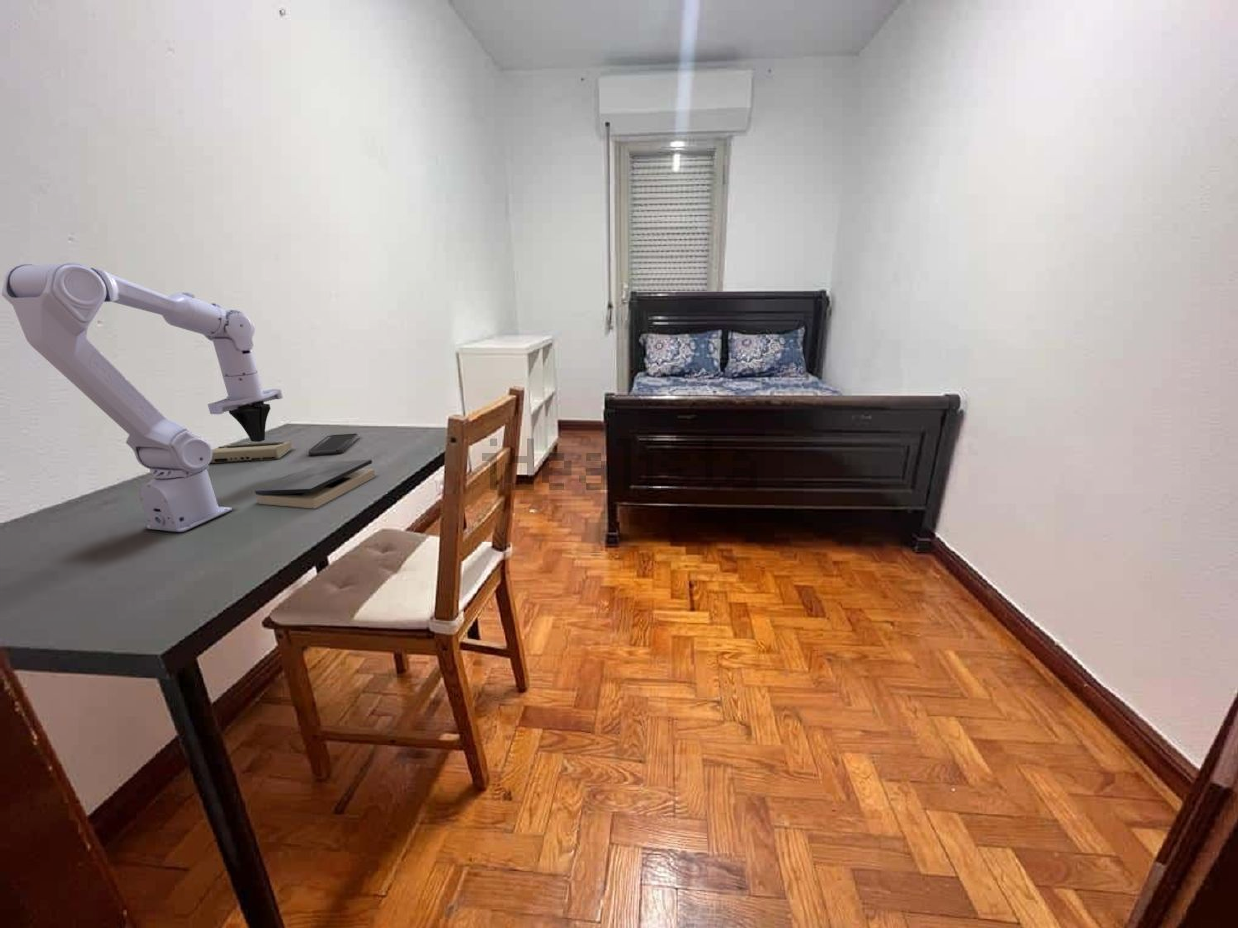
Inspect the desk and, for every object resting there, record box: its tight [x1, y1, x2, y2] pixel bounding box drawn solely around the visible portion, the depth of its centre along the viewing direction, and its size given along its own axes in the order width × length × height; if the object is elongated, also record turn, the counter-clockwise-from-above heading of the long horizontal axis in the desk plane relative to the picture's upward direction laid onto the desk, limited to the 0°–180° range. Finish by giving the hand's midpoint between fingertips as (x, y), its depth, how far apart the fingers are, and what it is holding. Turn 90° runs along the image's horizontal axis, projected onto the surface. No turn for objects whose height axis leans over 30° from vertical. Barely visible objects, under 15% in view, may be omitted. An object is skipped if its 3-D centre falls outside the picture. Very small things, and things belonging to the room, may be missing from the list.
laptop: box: [255, 468, 376, 510], centre depth 105 cm, size 13×17×2 cm
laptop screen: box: [254, 459, 373, 495], centre depth 105 cm, size 13×17×1 cm
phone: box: [308, 433, 359, 457], centre depth 134 cm, size 8×1×15 cm
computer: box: [209, 441, 292, 464], centre depth 127 cm, size 16×8×3 cm, turn 99°
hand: (258, 440), depth 105 cm, fingers closed
